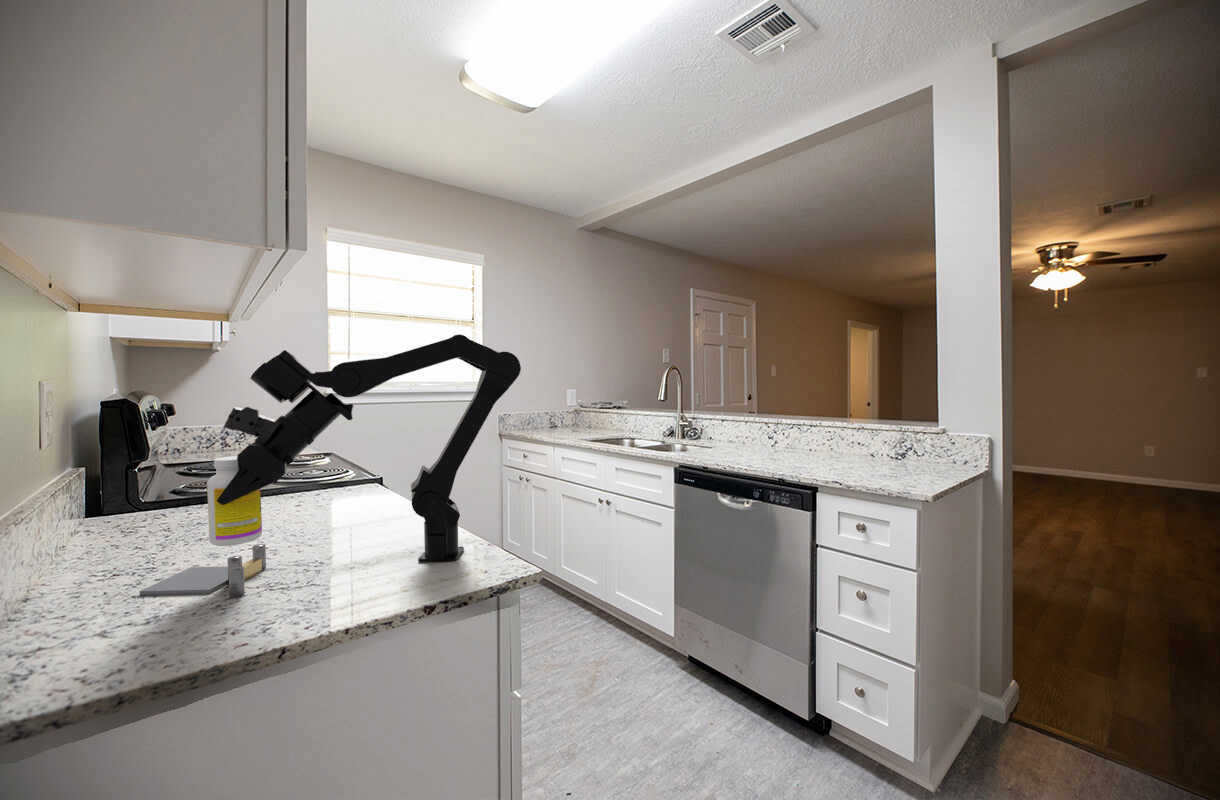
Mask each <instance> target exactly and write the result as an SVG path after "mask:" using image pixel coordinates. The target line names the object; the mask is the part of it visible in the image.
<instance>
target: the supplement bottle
mask: <svg viewBox="0 0 1220 800" xmlns="http://www.w3.org/2000/svg"><path fill="white" fill-rule="evenodd" d="M237 457H238V456H237V455H232V456H224V457H218V458H215V459H213V461H214V462H213V463H214V464H213V467H214V469H215V470H216V471H215V473H216V474H214V475H212V476H211V477H210V478H209V479H208V480H207V482H206V490H207V491H206V492H207V510H208V511H207V513H208V536H209V542H210V544H211V545H213V546H218V547H228V546H229V547H230V546H237V545H243V544H246V543H251V542H253V541H256V540H258V539H259V538H260V537H261V536H262V534H263V521H262V501H261V500H262V499H261V497H262V496H261V488H260V489H258V490H256V491H254V492H251V493H249V494H247V495H245V496H242V497H240V498H238V499H236V500H234V501H231V502H229V503H227V504H225V505H221V504H220V503H218V502H217V499H218V498H219V497H220V495H221V494H222V492H223V491H224V490H225V488H226V487H227V486H228V484H229V483H230V482H231V480H232V479H233V478H234V476H235V475H236V473H237V472H238V461H237Z"/></svg>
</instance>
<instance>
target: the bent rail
mask: <svg viewBox="0 0 1220 800" xmlns="http://www.w3.org/2000/svg"><path fill="white" fill-rule="evenodd" d="M266 552H267V550H266V544H265V543H257V544H254V545H252V558H251V559H250V560H248V561H246V562H244V563H243V557H242V555H233V556H229V557H228V558H227V566H228V584H227V585H228V588H229V597H228V598H230V599H239V598H241V597H243V596H245V594H246V593H245V581H246V580H248V579H250V578H252V577H253V576H254V575H256V574H258V573H260V572H262V571H264V570H266V569H267V553H266Z"/></svg>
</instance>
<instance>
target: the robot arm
mask: <svg viewBox="0 0 1220 800" xmlns="http://www.w3.org/2000/svg"><path fill="white" fill-rule="evenodd" d="M454 359H459V360H461V361H462V362H464V363H467V364H468V365H469V366H471V367H473V368H476V369H477V370H480V371H481V373H480V375H479V379H478V382H477V387H476V390H475V391H474V394H473V396H472V399H471V400H470V402H469V404H468V405H467V407H466V409H465V411H464V412H463V414H462V416H461V418H460V420H459V421H458V423H457V424H456V427H455V428H454V430H453V432H452V434H451V435H450V437H449V439H448V441H447V442H446V444H445V446H444V448H443V449H442V451H441V453H440V455H439V457H438V458H437V460H436V461H435V462H434V463H433V464H432V465H431V466H430V468H428V467H426V466H425V465H422V466H421V468H420V471H419V473H418V476H417V478H416V479H415V480H414V481H413V482H412V483H411V484H410V492H411V506H412V509H413V511H414V513H415V514H416V515H418V516H419V517H421V518H423V519H424V522H423V527H424V528H423V530H424V532H423V533H424V534H423V535H424V539H423V540H424V551H423V552H422V553H421V555H420V556H419V557H418V558H417V561H418V562H443V561H446V562H451V561H456V560H457V559H458V558H459V557H460V555H461V554H462V553H463V552H464V550H465V547H464V546H459V519H460V517H461V515H460V512H459V511H460V510H459V509H458V506H457V504H456V502H455V501H453V500H452V499H451V498H450V497H451V494H452V491H453V490H452V489H453V487H454V483H455V479H456V476H457V472H458V471H459V469H460V466H461V465H462V463H463V462H464V459H465V458H466V456H467V454H468V453H469V451H470V449H471V447H472V445H473V444H474V441H475V440H476V438H477V436H478V435H479V433H480V431H481V429H482V427H483V425H484V423H485V422H486V420H487V418H488V416H489V415H490V413H491V411H492V409H493V407H494V406H495V404H496V403H497V402H498V400H499V399H500V398H501V397H502V396H504V394H505V393H506V392H507V391H508V390H509V389H510V387H511V386H512V385H513V384H514V382H515V381H516V380H517V378H519V376H520V374H521V370H522V367H521V363H520V360H519V359H518V356H516V355H515V354H514V353H512V352H509V351H499V352H498V351H496V350H495V349H492V348H490V347H488V346H486V345H483V344H481V343H478V342H477V341H474V340H472V339H470V338H468V337H467V336H466V335H464V334H454V335H452V336H451V337H449V338H447V339H442V340H439V341H437V342H433V343H430V344H426V345H423V346H419V347H416V348H413V349H410V350H406V351H403V352H400V353H396V354H394V355H389V356H386V357H380V358H369V359H359V360H352V361H346V362H341V363H338V364H337V365H335V366H334V367H333V368H332V370H328V371H318V370H317V371H315V372H312V371H311V370H309V369H308V368H307V366H305V365H304V364H303V363H301V362H300V361H299V360H298V359H297V358H296V356H295V355H294V354H293V353H291V352H290V351H289V350H282V351H281V352H280V353H279V354H277V355H275V356H273V357H272V358H271V359H269V360H268V361H267V362H263V363H262V364H261V365H260V366H259V367H258V368H256V370H254V371H253V372H252V374H251V375H250V381H253V382H254V383H255V384H256V385H258V387H260V388H261V389H263V390H264V391H265V392H267V394H269V395H270V396H271V397H272V398H273V399H274V400H276V401H277V402H279V403H280V404H282V403H284V402H287V401H288V403H291V404H293V403H294V402H296V401H297V400H299V399H300V398H301V397H302V396H303V395H304V394H305V393H307V391H308V390H309V389H310V390H311V391H310V392H309V393H308V394H306V396H305V397H303V398H302V399H301V400H300V401H299V402H298V403H297V404H295V406H293V407H292V408H291V409H290V410H289V411H287V413H286V414H285V415H283V414H282V415H280V416H279V417H277V419H274V418H271V417H268V416H267V415H263V414H260V413H259V409H255V408H252V407H250V406H246V407H245V406H244V407H239V406H234V407H233V408H232V410H231V411H230V413H229V415H228V417H227V420H226V421H225V423H224V425H223V427H224V428H226V429H227V430H228V429H229V430H231V431H235V430H236V431H238V432H241V433H244V434H248V435H250V436H254V437H256V438H255V439H254V441H253V443H250V444H248V445H247V446H246V447H244V449H242V451H241V452H239V453H238V454H237V455H236V456H238V457H237V461H238V472H237V473H236V475H235V476H234V478H233V479H232V480H231V482H230V483H229V484H228V486H227V487H226V488H225V490H224V491H223V492H222V494H221V495H220V497H219V498H218V499H217V502H218V503H220V504H221V505H225V504H227V503H229V502H231V501H234V500H236V499H238V498H240V497H242V496H245V495H247V494H249V493H251V492H254V491H256V490H258V489H260V490H261V489H262V488H265V487H267V486H269V485H273V484H276V483H277V482H278V481H280V479H281V478H282V477H283V476H284V475H285V474H286V473H287V466H289V465H290V464H291V463H292V462H293V461H294V460H295V459H296V457H297V456H299V454H301V453H302V452H303V451H304V450H305V449H306V448H307V447H308V446H310V445H311V444H312V443H314V441H315V440H316V439H317V437H319V435H321V434H322V433H323V432H324V431H325V430H326V429H327V428H328V427H329V426H330V425H331V424H332V423H333V422H335V420H336V419H337V418H339V417H340V416H341V415H342V417H344V418H345V419H346V420H347V421H352V420H353V410H354V409H353V408H354V404H353V403H349V404H346V403H344V402H343V401H342V399H340V398H339V397H337V396H336V395H338V396H340V397H343V398H354V397H359V396H361V395H363V394H365V393H367V392H369V391H371V390H373V389H374V388H377V387H379V386H381V385H382V384H384V383H386V382H388V381H390V380H392V379H395V378H397V377H400V376H404V375H407V374H410V373H413V372H415V371H419V370H423V369H426V368H429V367H432V366H436V365H438V364H442V363H445V362H448V361H451V360H454ZM311 383H312V384H313V385H314V386H316V387H321V388H327V389H331V390H332V392H334V393H335V394H336V395H335V394H334V393H332V392H331V393H329V394H327V395H326V396H325V395H324V394H323V393H322V392H321V391H320V390H318V389H317V388H316V387H314V386H313V385H312V384H311ZM461 552H462V553H461Z"/></svg>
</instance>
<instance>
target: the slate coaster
mask: <svg viewBox="0 0 1220 800" xmlns="http://www.w3.org/2000/svg"><path fill="white" fill-rule="evenodd" d="M226 585H228V565H227V566H191V567H188V568H187V569H184V570H181V571H180V572H177V573H176V574H174V575H171V576H170V577H168V578H164V579H163V580H161V581H158V582H157V583H154V584H152V585H150V586H148V587H145V588H143V589H141V590H139V593H138V594H139V596H162V595H163V596H164V595H165V596H167V595H168V594H169V596H170V594H171V595H203V594H204V595H205V594H208V595H210V594H212V593H214V592H216V591H218V590H220V589H221V588H223V587H224V586H226ZM217 589H218V590H217Z"/></svg>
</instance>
